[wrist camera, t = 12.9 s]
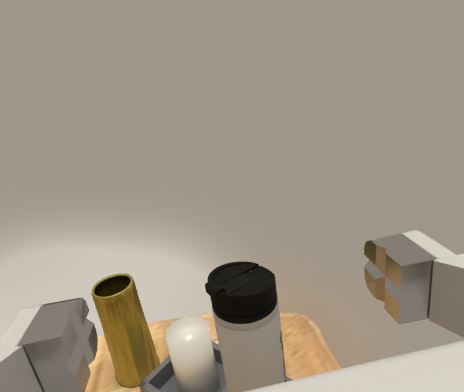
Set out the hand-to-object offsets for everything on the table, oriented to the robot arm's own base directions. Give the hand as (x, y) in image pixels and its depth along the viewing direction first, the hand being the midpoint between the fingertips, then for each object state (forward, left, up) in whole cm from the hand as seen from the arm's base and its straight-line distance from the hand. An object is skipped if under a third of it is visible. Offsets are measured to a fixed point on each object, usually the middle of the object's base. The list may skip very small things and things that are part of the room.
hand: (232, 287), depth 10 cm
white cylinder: (-21, +14, -31) cm, 40 cm away
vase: (-31, +12, -32) cm, 47 cm away
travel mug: (-12, +14, -32) cm, 37 cm away
